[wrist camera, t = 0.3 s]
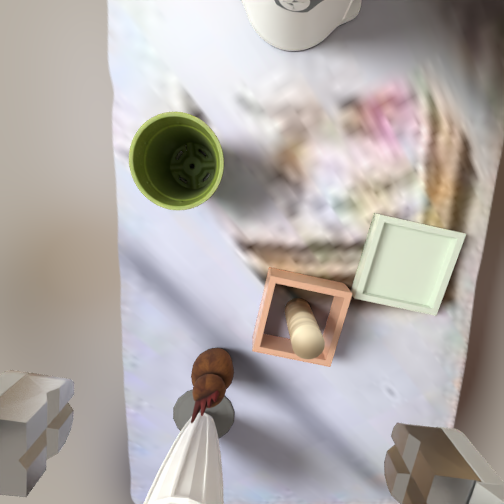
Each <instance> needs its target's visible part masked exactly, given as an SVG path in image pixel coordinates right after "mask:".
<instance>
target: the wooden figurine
mask: <svg viewBox="0 0 504 504" xmlns="http://www.w3.org/2000/svg"><path fill="white" fill-rule="evenodd" d="M233 374H234V369H233V364H232V359H231V357H230V355H229V353H228V352H226V351H225V350H224V349H220V348H212V349H208V350H207V351H205V352H203V353H201V354H200V355H199V356H198V358H197V359H196V361H195V362H194V364H193V368H192V374H191V378H192V384H193V386H194V387H193V391H192V394H193V399H194V401H195V405H194V409H193V414H192V419H191V423H193V422H194V420H195V418H196V417H197V415H198V413H199V411H200V409H201V416H203V415H204V412H205V410H206V408H212V407H215V406H216V405H218V404H219V403H220V402H221V401H222V400H223V398H224V395H225V392H226V389H227V388H228V387H229V386H230V384H231V383H232V379H233Z"/></svg>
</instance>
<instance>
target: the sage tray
mask: <svg viewBox="0 0 504 504" xmlns="http://www.w3.org/2000/svg"><path fill="white" fill-rule="evenodd" d="M465 236H466V234H464V233H461V232H457V231H453V230H448V229H444V228H439V227H435V226H430V225H426V224H421V223H417V222H412V221H408V220H404V219H399V218H395V217H390V216H386V215H381V214H377V213H374V215H373V219H372V222H371V225H370V229H369V232H368V235H367V239H366V242H365V245H364V249H363V252H362V255H361V259H360V262H359V265H358V269H357V272H356V275H355V279H354V282H353V285H352V288H351V292H352V296H353V297H354V298H355V299H360V300H364V301H369V302H374V303H378V304H383V305H388V306H392V307H397V308H402V309H407V310H411V311H416V312H421V313H425V314H430V315H435V316H436V315H437V312H438V310H439V307H440V304H441V301H442V299H443V296H444V293H445V290H446V288H447V285H448V282H449V280H450V277H451V274H452V271H453V269H454V266H455V263H456V261H457V258H458V255H459V252H460V250H461V247H462V244H463V242H464V239H465Z"/></svg>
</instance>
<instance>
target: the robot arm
mask: <svg viewBox="0 0 504 504" xmlns="http://www.w3.org/2000/svg"><path fill="white" fill-rule="evenodd" d="M241 1H242V3H243V5H244V8H245V11H246V14H247V17H248V19H249V21H250V23H251V25H252V27H253V28H254V30H255V31H256V32H257V34H258V35H259V36H260V37H261V38H262V39H263V40H264V41H266V42H267V43H269V44H270V45H272V46H274V47H276V48H279V49H282V50H287V51H299V50H305V49H308V48H311V47H313V46H315V45H317V44H319V43H320V42H322V41H323V40H324V39H325V38H326V37H328V36H329V34H330V33H331V32H332V31H333V30H334V29H335V28H336V27H338V26H339V25H341V24H344V23H346V22H348V21H350V20H352V19H354V18H355V17H356V16H357V15H358V13H359V11H360V8H361V0H354V1H353V0H241ZM73 395H74V382H73V381H72V380H71V379H67V378H61V377H55V376H48V375H41V374H35V373H28V372H21V371H14V370H10V371H5V372H3V373H2V374H1V375H0V495H9V496H20V497H27V496H28V494H29V492H30V491H31V490H32V489H33V487H34V486H35V484H36V483H37V482H38V480H39V479H40V478H41V476H42V475H43V473H44V472H45V471H46V460H47V459H49V458H50V457H52V456H54V455H56V454H57V453H58V452H59V451H60V450H61V448H62V446H63V445H64V444H65V442H66V440H67V437H68V435H69V432H70V430H71V426H72V422H73V409H72V407H71V406H70V405H69V403H68V401H69V400H70V399H71V398H72V396H73ZM391 437H392V439H393V441H394V443H395V445H394V446H392V447H391V448H390V449H389V450H388V451H387V453H386V457H385V462H384V471H385V479H386V483H387V486H388V489H389V491H390V494H391V496H393V497H394V498H395V499H396V500H397V501H398V502H399V503H400V504H504V482H503V481H502V479H501V478H500V477H499V476H498V475H497V473H496V472H495V471H494V470H493V468H492V467H491V466H490V465H489V464H488V462H487V461H486V460H485V459H484V458H483V456H481V454H480V453H479V452H478V451H477V449H476V448H475V447H474V446H473V445H472V443H471V442H470V441H469V440H468V438H467V437H466V436H465V435H464V434H463V433H462V432H461V431H459V430H457V429H453V428H443V427H428V426H420V425H412V424H404V423H397V424H396V425H395V426H394V428H393V431H392V435H391Z"/></svg>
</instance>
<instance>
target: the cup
mask: <svg viewBox="0 0 504 504" xmlns="http://www.w3.org/2000/svg"><path fill="white" fill-rule="evenodd" d="M192 391H193V390H190V391H187V392H186V393H185V394H183V395H182V396H181V397H180V398H178V400H177V402H176V404H175V406H174V410H173V419H174V421H175V423H176V426H177V428H178V429H179V430H180V431H181V432H180V433H179V435H178V437H177V438H176V440H175V441H174V443H173V445H172V447H171V449H170V450H169V452H168V454H167V456H166V458H165V460H164V462H163V463H162V465H161V467H160V469H159V471H158V473H157V475H156V478H155V480H154V482H153V484H152V486H151V488H150V490H149V493H148V495H147V497H146V499H145V502H144V504H224V501H223V477H222V464H221V454H220V447H219V440H218V438H220V437H222V436H223V435H224V434H226V433H227V432H228V431H229V429H230V428H231V426H232V424H233V421H234V410H233V408H232V405H231V403H230V401H229V400H228V399H227V398H226V397H225V396H224V398H223V400H222V401H221V402H220V403H219V404H218V405H216V406H215V407H212V408H206V410H205V412H204V415H203V416H201V409H200V411H199V413H198V415H197V417H196V418H195V420H194V422H193V423H191V419H192V414H193V409H194V405H195V401H194V399H193V394H192Z"/></svg>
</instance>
